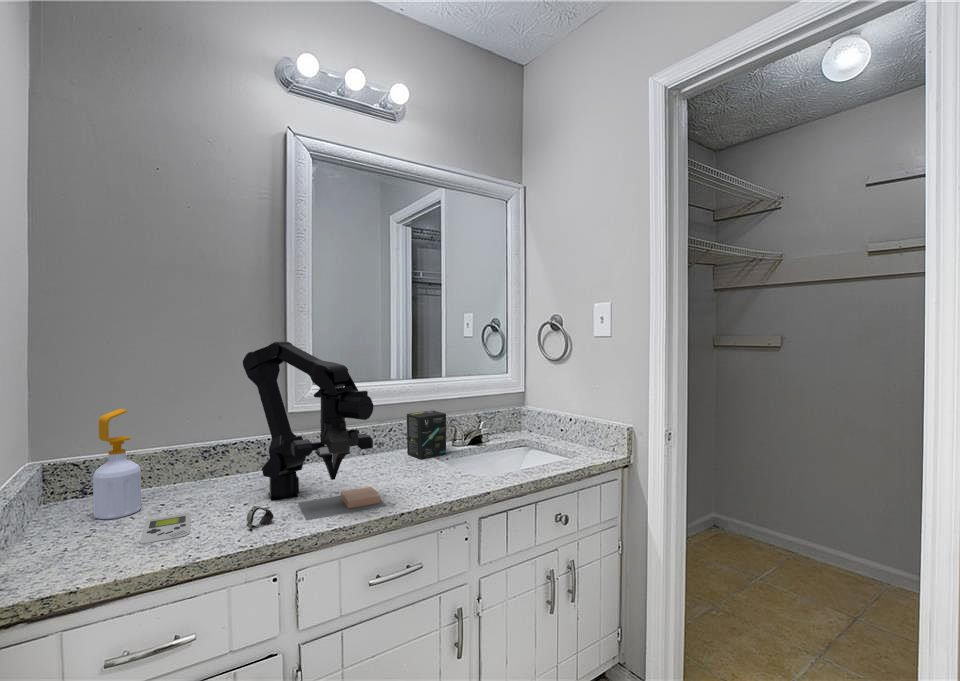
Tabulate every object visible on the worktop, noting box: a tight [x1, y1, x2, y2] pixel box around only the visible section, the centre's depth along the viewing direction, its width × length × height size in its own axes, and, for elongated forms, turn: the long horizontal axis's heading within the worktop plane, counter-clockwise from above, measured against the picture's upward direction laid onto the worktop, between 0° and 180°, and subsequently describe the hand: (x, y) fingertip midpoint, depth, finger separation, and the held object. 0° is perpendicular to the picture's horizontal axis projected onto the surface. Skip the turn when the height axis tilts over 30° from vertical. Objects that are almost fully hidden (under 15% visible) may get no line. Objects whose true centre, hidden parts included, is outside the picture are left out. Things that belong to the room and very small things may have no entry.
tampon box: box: [406, 409, 447, 460], centre depth 171 cm, size 11×9×15 cm
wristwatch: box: [246, 505, 275, 530], centre depth 108 cm, size 3×5×5 cm
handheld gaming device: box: [139, 512, 192, 545], centre depth 108 cm, size 9×1×15 cm
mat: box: [297, 495, 388, 521], centre depth 121 cm, size 19×13×1 cm
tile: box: [340, 486, 381, 508], centre depth 123 cm, size 2×8×8 cm
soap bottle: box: [92, 408, 142, 520], centre depth 116 cm, size 9×9×25 cm
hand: (332, 479), depth 120 cm, fingers closed
